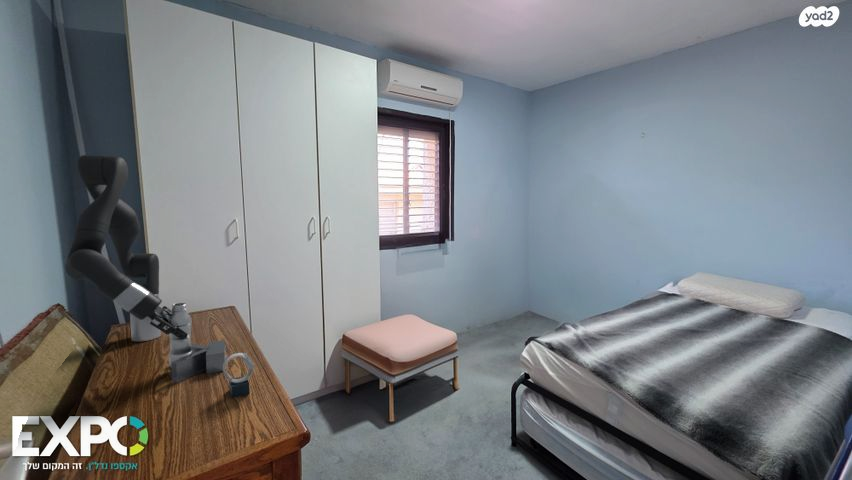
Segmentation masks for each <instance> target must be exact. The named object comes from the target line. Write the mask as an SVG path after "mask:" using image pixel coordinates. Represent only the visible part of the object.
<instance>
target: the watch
mask: <svg viewBox="0 0 852 480" xmlns="http://www.w3.org/2000/svg"><path fill="white" fill-rule="evenodd" d="M239 357H240V358H241V360H242V362H243V363H244V364H245V366H246V367H247V368H248V369H249V371H248V373H247V374H246V375H242V376H237V377H234V378H233V377H232V376H231V375H230V374H229V373H228V372H227V368H226V366H227V364H229V362H230V361H232V360H233V359H235V358H239ZM255 367H256V366H255V364H254V362H253V361H252V359H251V358H250V357H249V355H248V354H247V353H246V352H244V353H243V352H236V353H233V354H230V355H229V356H228V357H226V360H225V362H224V363H223V371H222V373H223V376H224V377H225V378H226V380H227V381H228V387H229V388H228V389H229V393H230V396H231V399H235V398H238V397H242V396H247V395H250V382H249V380H248V379H250V378H251V377H252V375H253V373H254V371H255V370H254V368H255Z"/></svg>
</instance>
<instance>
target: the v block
mask: <svg viewBox="0 0 852 480" xmlns="http://www.w3.org/2000/svg"><path fill="white" fill-rule="evenodd" d="M207 343H208V344H207V345H203V344H202V345H201V344H195V343H191V348H192V352H193V354H190V355H188V356H186V357H183V358H181V359H178V360H176V361H174V362H171V366H170V368H171V383H175V384H179V383H180V382H183V381H185V380H186V379H189V378H191V377H194V376H195V375H197V374H199V373H201V372H204V371H206V375H208V374H214V373H219V372H223V363H224V362H225V360H226V359H227V354H226V351H227V350H226V339H222V340H215V341H208V342H207Z"/></svg>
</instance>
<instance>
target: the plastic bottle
mask: <svg viewBox="0 0 852 480" xmlns="http://www.w3.org/2000/svg"><path fill="white" fill-rule="evenodd" d="M187 309H188V308H187V303H185V302H179V303H173V304H172V305H171V311H173V313H172V314H171V315H170V318H171V319H172V320H173V323H174V324H175V325H176V326H177V327H178V328H180V329H181V330H183V331H184V332H186V333H187V334H188V335H187V337H186V338H185V339H183V340H181V339H179V338H178V337H176V336H175V335H173V334H172V333H171V334H170V333H169V334H168V336H169V354H168V364H169V366H170V367H171V362H174V361H176V360H178V359H181V358H183V357H186V356H188V355H190V354H193V352H192V348H191V344H192V341H191V332H192V331H191V329H192V324H193V323H192V316H190V314H189V313H188V312H187V311H186V310H187ZM168 328H169V327H168Z"/></svg>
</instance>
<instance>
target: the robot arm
mask: <svg viewBox="0 0 852 480" xmlns="http://www.w3.org/2000/svg"><path fill="white" fill-rule="evenodd" d="M76 166H77V171H78V174H79V177H80V179H81V181H82V182H83V184H84V186H85V187H86V190H87V191H88V193H89V194H90V196H91V198H92V200H93V201H92V202H91V203H90V204H89V205H87V206H86V207H85V208H84V209H83V210H82V212H81V213H80V214H79V216H78V219H77V221H76V225H75V229H74V235H73V241H72V244H71V247H70V249H69V253H68V256H67V258H66V263H65V265H64V266H65V267H64V269H65V272H66V274H67V276H68V277H70V278H72V279H74V280H78V281H79V280H80V281H81V280H83V281H84V280H89V281H90V282H92V283H93V284H95V286H96V287H95V288H96V289H97V291H99V293H100V294H102V295H104V296H105V297H106V298H108V299H109V300H111V301H113V303H115V304H116V305H117V306H119V307H120V308H121V309H123V310H125V312H127V313H129V318H130V319H129V321H130V337H131V338H130V339H131V341H132V342H148V341H151V340H154V339H155V340H156V339H157V338H160V337H161V336H162V332H163V333H164V334H166V335H169V333H170V334H171V333H172V334H173V335H175V336H176V337H178V338H179V339H181V340H183V339H185V338H186V337H187V335H188V334H187V333H186V332H184V331H183V330H181V329H180V328H178V327H177V326H176V325H175V324H174V323H173V320H172V319H171V318H170V315H171V314H172V313H173V311H172V309H170V308H169V307H167V306H166V305H164V306H162V307H161V306H160V305H161V303H162V302H163V300H162V299H161V298H160V260H159V257H158V255H157V254H155V253H135V252H134V253H133V251H132V247H133V244H134V243H135V241H136V240H137V238H138V237H139V235H140V232H141V227H142V226H141V224H140V221H139V218H138V214H137V213H136V211H135V210H134V209H133V208H132V207H131V206H130V205H128V204H127V203H126V202H124V200H123V199H120V198H121V196H122V193H123V191H124V188H125V186H126V183H127V181H128V177H129V168H128V164H127V161H126V160H125V159H124V158H123V157H121V156H116V155H107V154H106V155H103V154H83V155H80V156H79V157H78V158H77V164H76ZM108 235H109V238H110V239H111V243H112V244H113V247H114V249H115V252H116V256H117V258H118V259H117V260H118V261H119V265H120V269H121V271H119V269H118V268H117V267H116V266H115V265H114V264H113V263H112V262H111V261H110V260H109V259H108V258H106V256H104V255H103V254H102V249H103V247H104V246H105V244H106V241H107V238H108ZM133 278H134V279H137V278H145V281H144V282H143V283H141V284H139V283H136V282H135V281H134V280H132V279H133ZM168 327H169V328H168Z"/></svg>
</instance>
